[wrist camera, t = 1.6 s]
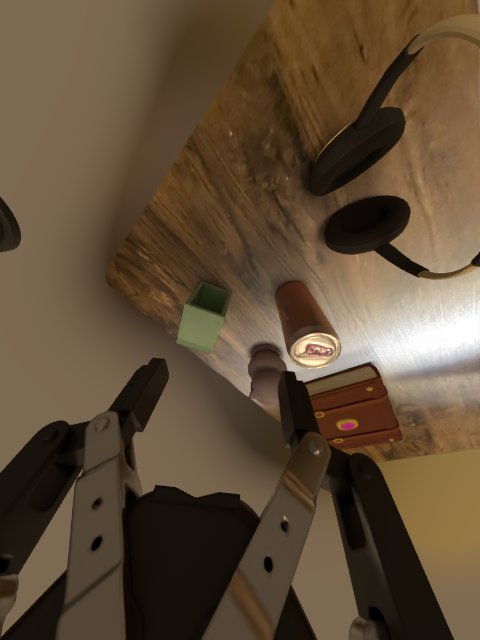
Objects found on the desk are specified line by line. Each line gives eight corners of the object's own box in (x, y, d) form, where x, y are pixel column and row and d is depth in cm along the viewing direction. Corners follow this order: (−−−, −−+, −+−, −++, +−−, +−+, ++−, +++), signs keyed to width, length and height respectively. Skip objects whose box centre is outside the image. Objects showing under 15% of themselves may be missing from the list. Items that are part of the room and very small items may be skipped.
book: (322, 437, 61) (327, 454, 57) (282, 389, 48) (284, 407, 43) (395, 424, 53) (408, 442, 49) (372, 361, 39) (386, 379, 35)
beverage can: (303, 310, 34) (332, 372, 21) (273, 308, 34) (283, 367, 21) (312, 281, 30) (352, 334, 18) (278, 278, 30) (294, 329, 18)
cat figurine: (291, 350, 40) (303, 399, 30) (272, 370, 44) (277, 419, 34) (258, 336, 38) (260, 382, 28) (242, 358, 42) (238, 405, 32)
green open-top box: (201, 280, 32) (184, 303, 24) (231, 292, 33) (224, 318, 25) (192, 314, 36) (176, 343, 29) (219, 324, 37) (210, 354, 29)
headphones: (367, 100, 19) (1232, -714, 2) (384, 231, 25) (628, 281, 9) (291, 155, 22) (412, -12, 5) (324, 260, 28) (423, 339, 12)
